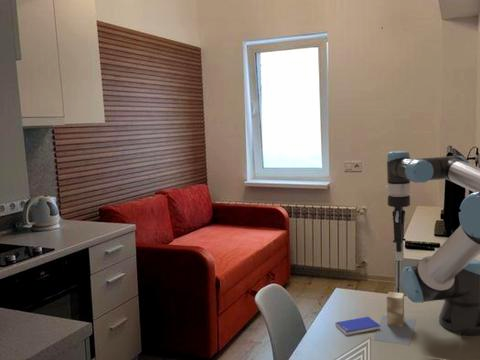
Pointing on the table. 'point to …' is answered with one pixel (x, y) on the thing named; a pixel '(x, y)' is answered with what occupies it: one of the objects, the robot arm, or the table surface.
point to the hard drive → (357, 325)
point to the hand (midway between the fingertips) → (399, 259)
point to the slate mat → (395, 332)
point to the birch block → (395, 309)
